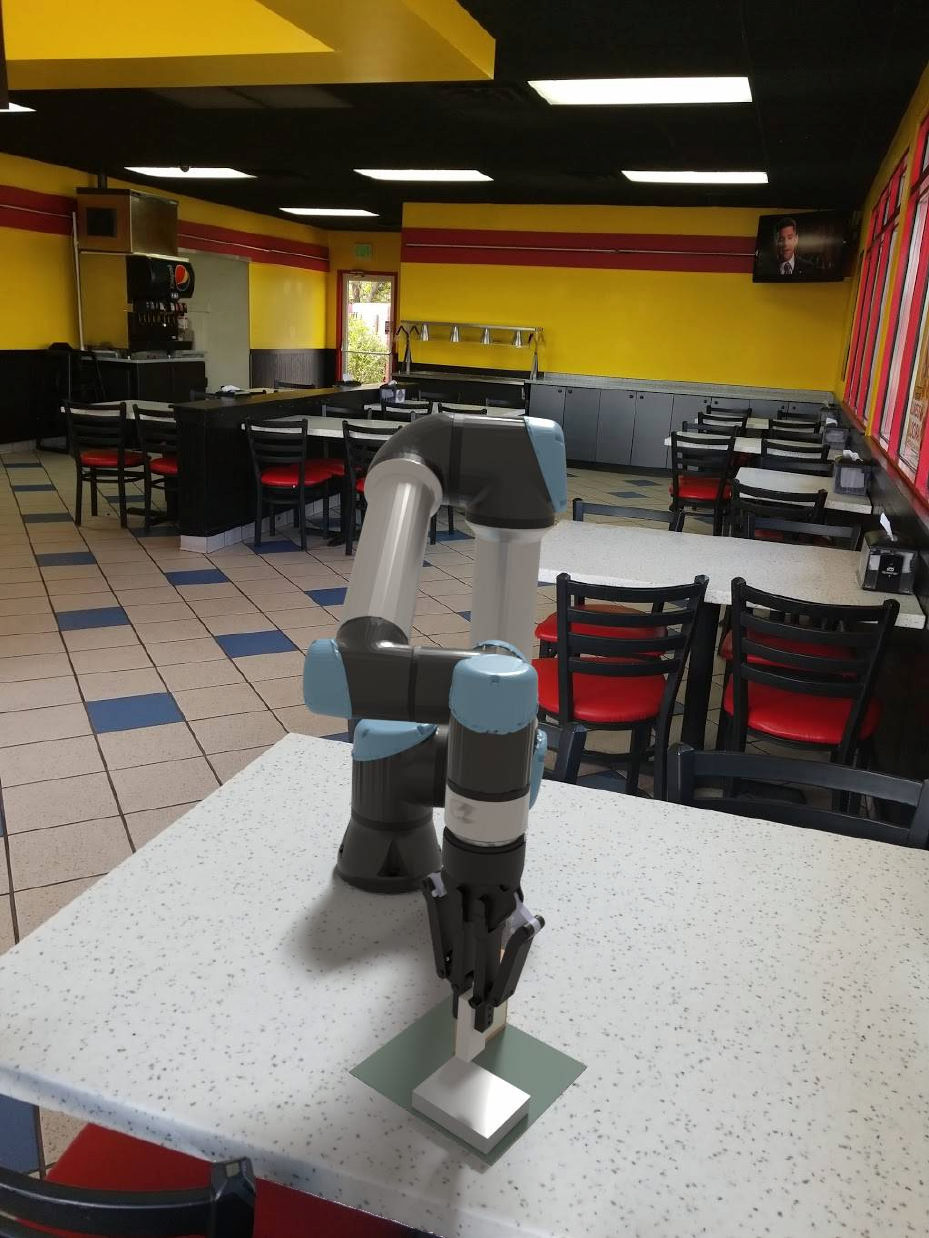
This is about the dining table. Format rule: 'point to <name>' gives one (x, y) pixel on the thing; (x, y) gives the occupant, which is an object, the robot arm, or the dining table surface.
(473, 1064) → the white flat block
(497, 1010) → the terracotta tile
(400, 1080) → the mat
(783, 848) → the dining table surface
